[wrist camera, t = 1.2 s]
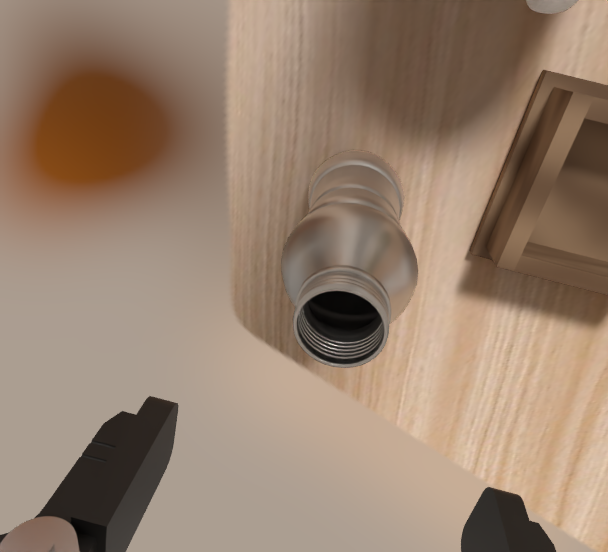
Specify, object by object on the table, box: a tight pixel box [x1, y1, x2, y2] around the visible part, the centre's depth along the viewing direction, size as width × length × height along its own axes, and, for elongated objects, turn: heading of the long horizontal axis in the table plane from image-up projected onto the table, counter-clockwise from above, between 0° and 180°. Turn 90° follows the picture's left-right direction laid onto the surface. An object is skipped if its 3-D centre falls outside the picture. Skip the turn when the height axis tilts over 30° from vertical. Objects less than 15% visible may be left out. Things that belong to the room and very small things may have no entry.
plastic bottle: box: [281, 150, 418, 368], centre depth 28 cm, size 6×7×20 cm
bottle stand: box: [470, 70, 608, 295], centre depth 33 cm, size 13×13×4 cm
